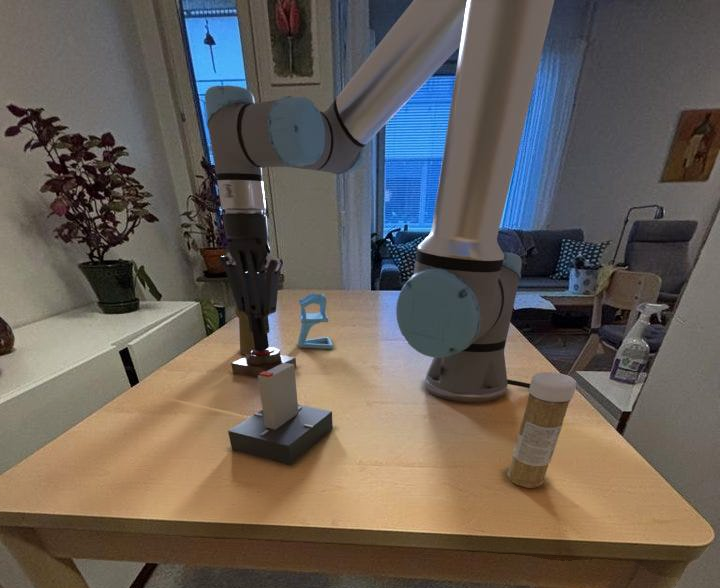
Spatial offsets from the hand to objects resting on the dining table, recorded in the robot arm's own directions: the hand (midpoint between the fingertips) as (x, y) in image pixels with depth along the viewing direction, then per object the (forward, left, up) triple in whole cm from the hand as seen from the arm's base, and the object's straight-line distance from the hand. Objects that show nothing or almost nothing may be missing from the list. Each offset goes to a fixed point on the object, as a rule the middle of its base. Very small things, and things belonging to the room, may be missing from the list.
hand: (262, 349), depth 82 cm
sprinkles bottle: (-55, +20, -5) cm, 59 cm away
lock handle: (-21, +24, -1) cm, 32 cm away
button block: (0, 0, -5) cm, 5 cm away
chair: (0, -21, -5) cm, 22 cm away
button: (0, 0, -2) cm, 2 cm away
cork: (+11, -10, -5) cm, 16 cm away
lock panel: (-21, +24, -5) cm, 32 cm away
